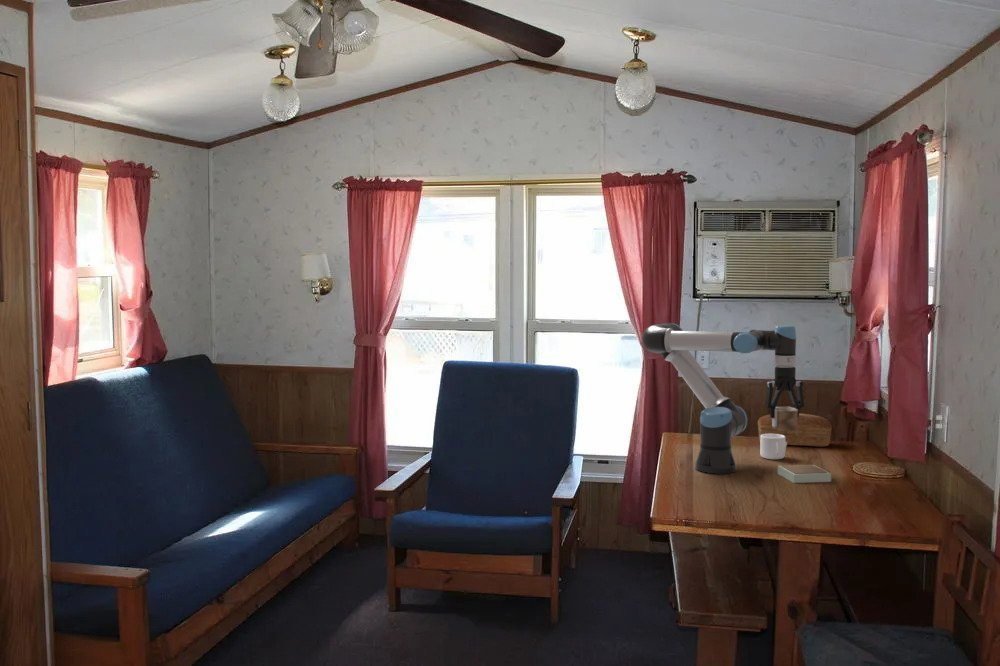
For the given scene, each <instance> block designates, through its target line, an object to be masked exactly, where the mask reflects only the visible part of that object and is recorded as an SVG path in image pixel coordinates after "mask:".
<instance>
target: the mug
mask: <svg viewBox="0 0 1000 666" xmlns="http://www.w3.org/2000/svg"><path fill="white" fill-rule="evenodd" d="M759 443H760V444H759V446H760V447H759V450H760V451H759V453H760V457H762V458H763V459H765V460H766V459H767V460H772V461H773V460H783V459H784V458H785V456H786V449H787V446H788V444H787V442H786V441H785V436H784V435H780V434H762V435H761V436H760V440H759Z"/></svg>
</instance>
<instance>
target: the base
mask: <svg viewBox="0 0 1000 666" xmlns="http://www.w3.org/2000/svg"><path fill="white" fill-rule="evenodd" d="M777 474H778V475H779V476H781V477H783V478H784V479H786V480H788V481H790V482H791V483H793V484H797V483H798V484H801V483H803V484H805V483H830V482H832V473H831V472H830V471H829V472H828V471H827V470H825V469H823V468H820V467H819V466H817V465H815V464H793V465H792V464H789V465H788V464H787V465H786V464H785V465H777Z"/></svg>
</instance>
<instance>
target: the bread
mask: <svg viewBox="0 0 1000 666" xmlns="http://www.w3.org/2000/svg"><path fill="white" fill-rule="evenodd" d="M757 426H758V427H757V429H758V440H759V441H760V436H761V435H762V434H780V435H784V436H785V441H786V442H787V446H788V445H790V446H809V447H828V446H829V445H830V442H831V441H830V440H831V436H832V429H833V428H832V427H833V425H832V424H831V422H830V421H829V420H828V418H825V417H822V416H820V415H815V414H811V413H810V414H809V413H808V414H807V413H800V412H799V417H797V430H793V431H778V430H776V429H774V428H772V418H771V417H770V414H766V415H762V416H761V417H759V419H758V420H757Z"/></svg>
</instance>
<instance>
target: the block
mask: <svg viewBox="0 0 1000 666" xmlns="http://www.w3.org/2000/svg"><path fill="white" fill-rule="evenodd" d="M775 409H776V410H777V427H774V426H772V428H774V429H776V430H778V431H793V430H797V412H798V409H795V408H794V407H792V406H790V405H789V406H776V408H775Z"/></svg>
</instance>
